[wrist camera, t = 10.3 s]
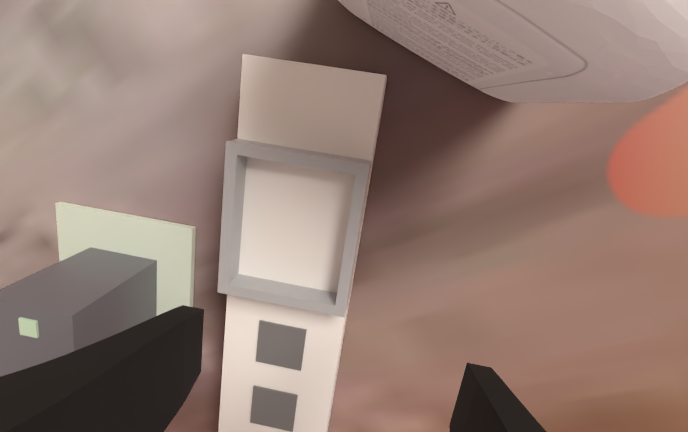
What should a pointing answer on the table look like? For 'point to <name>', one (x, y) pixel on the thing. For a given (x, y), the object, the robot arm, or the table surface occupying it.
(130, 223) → the sage mat
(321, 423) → the white block grey frame
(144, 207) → the table surface
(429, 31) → the photo printer
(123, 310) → the charger
